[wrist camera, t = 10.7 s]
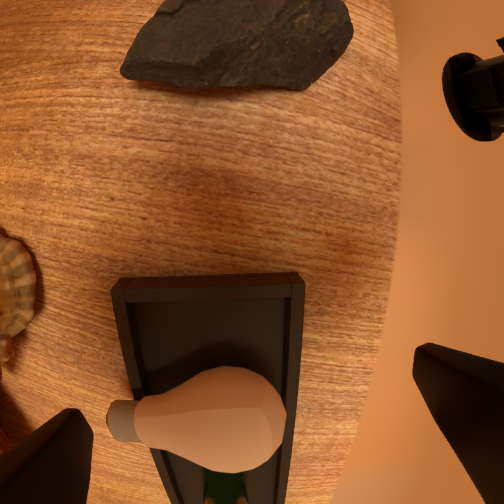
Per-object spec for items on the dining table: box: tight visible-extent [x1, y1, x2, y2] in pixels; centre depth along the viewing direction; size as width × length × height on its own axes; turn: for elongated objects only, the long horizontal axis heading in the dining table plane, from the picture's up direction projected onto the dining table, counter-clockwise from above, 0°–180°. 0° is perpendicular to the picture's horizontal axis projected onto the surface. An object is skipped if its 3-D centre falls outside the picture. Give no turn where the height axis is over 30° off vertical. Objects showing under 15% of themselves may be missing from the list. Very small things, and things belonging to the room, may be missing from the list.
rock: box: [120, 0, 354, 90], centre depth 13 cm, size 10×6×10 cm
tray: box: [111, 272, 305, 504], centre depth 21 cm, size 11×32×2 cm, turn 1°
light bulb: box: [106, 366, 287, 473], centre depth 16 cm, size 7×7×11 cm
